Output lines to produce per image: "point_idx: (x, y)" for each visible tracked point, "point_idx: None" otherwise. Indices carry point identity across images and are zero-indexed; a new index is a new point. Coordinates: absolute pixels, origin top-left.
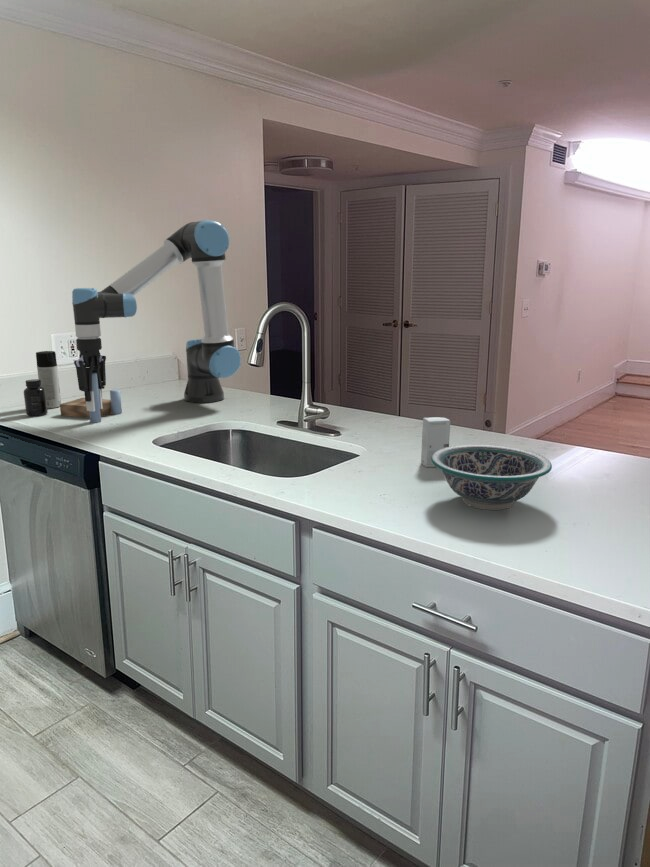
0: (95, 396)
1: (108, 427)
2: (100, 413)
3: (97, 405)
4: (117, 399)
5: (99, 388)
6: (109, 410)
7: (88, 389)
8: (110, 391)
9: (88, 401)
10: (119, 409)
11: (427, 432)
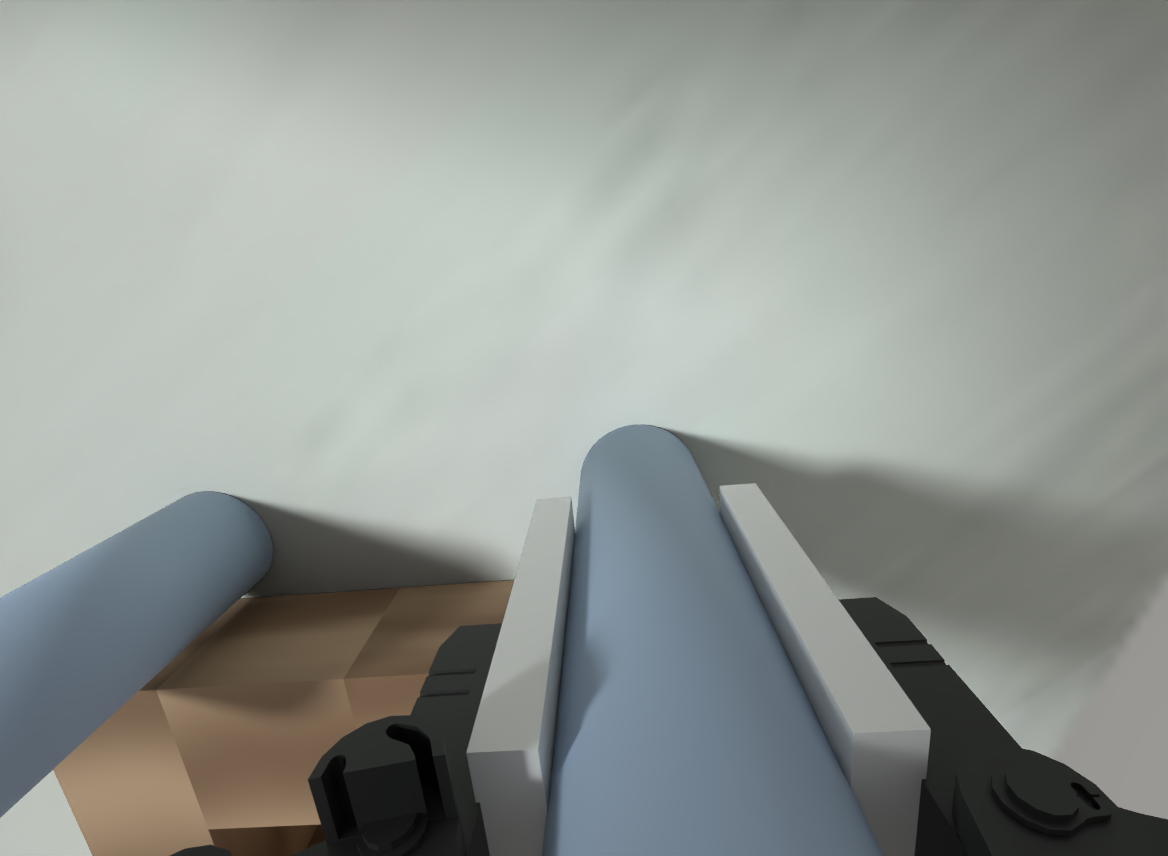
0: (740, 620)
1: (828, 136)
2: (601, 471)
3: (681, 510)
4: (79, 598)
5: (463, 817)
6: (250, 618)
7: (1125, 846)
8: (8, 796)
9: (875, 617)
10: (183, 515)
11: None
